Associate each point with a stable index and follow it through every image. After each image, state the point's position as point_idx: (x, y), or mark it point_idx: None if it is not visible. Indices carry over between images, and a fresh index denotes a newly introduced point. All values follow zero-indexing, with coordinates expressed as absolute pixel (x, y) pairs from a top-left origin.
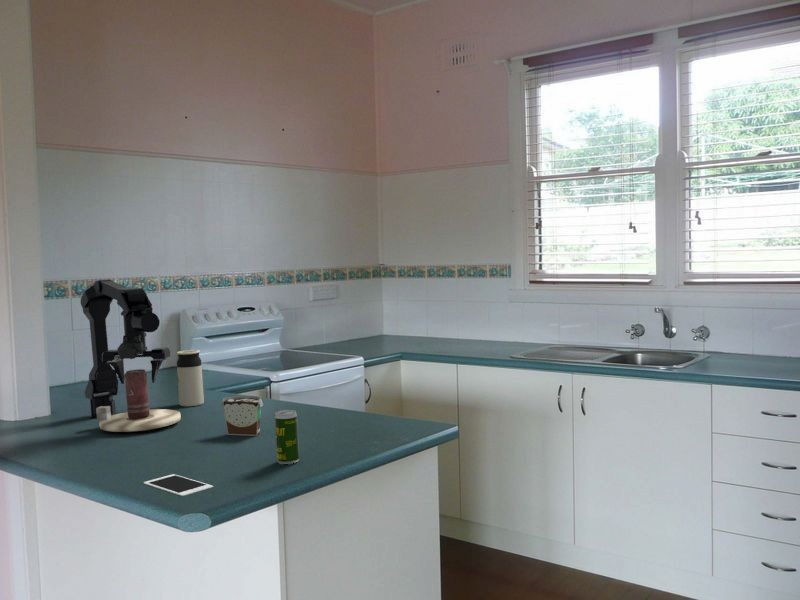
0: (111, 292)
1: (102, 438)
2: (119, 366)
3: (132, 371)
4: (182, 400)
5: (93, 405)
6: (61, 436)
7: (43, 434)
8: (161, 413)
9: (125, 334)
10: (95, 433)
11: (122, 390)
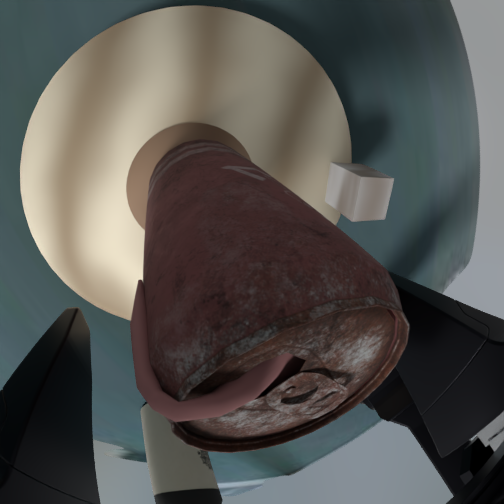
0: None
1: (279, 3)
2: (482, 363)
3: (337, 385)
4: None
5: None
6: (409, 88)
7: (443, 133)
8: (127, 262)
9: None
10: None
11: (333, 426)
